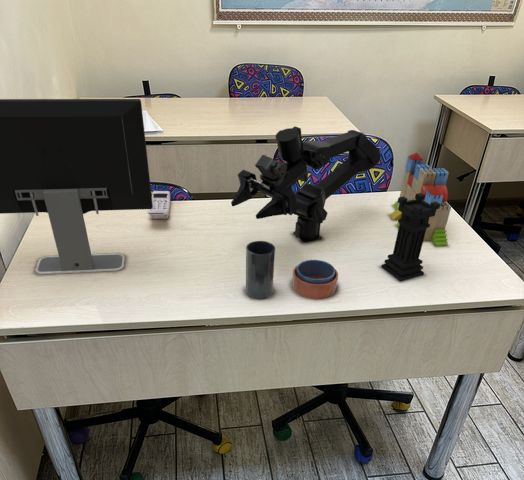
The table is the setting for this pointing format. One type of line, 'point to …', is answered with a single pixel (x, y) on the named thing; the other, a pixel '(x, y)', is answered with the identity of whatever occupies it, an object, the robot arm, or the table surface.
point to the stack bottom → (314, 287)
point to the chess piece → (410, 237)
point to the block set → (426, 195)
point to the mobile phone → (160, 205)
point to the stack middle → (315, 271)
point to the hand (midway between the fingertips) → (243, 210)
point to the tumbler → (259, 269)
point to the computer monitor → (73, 170)
